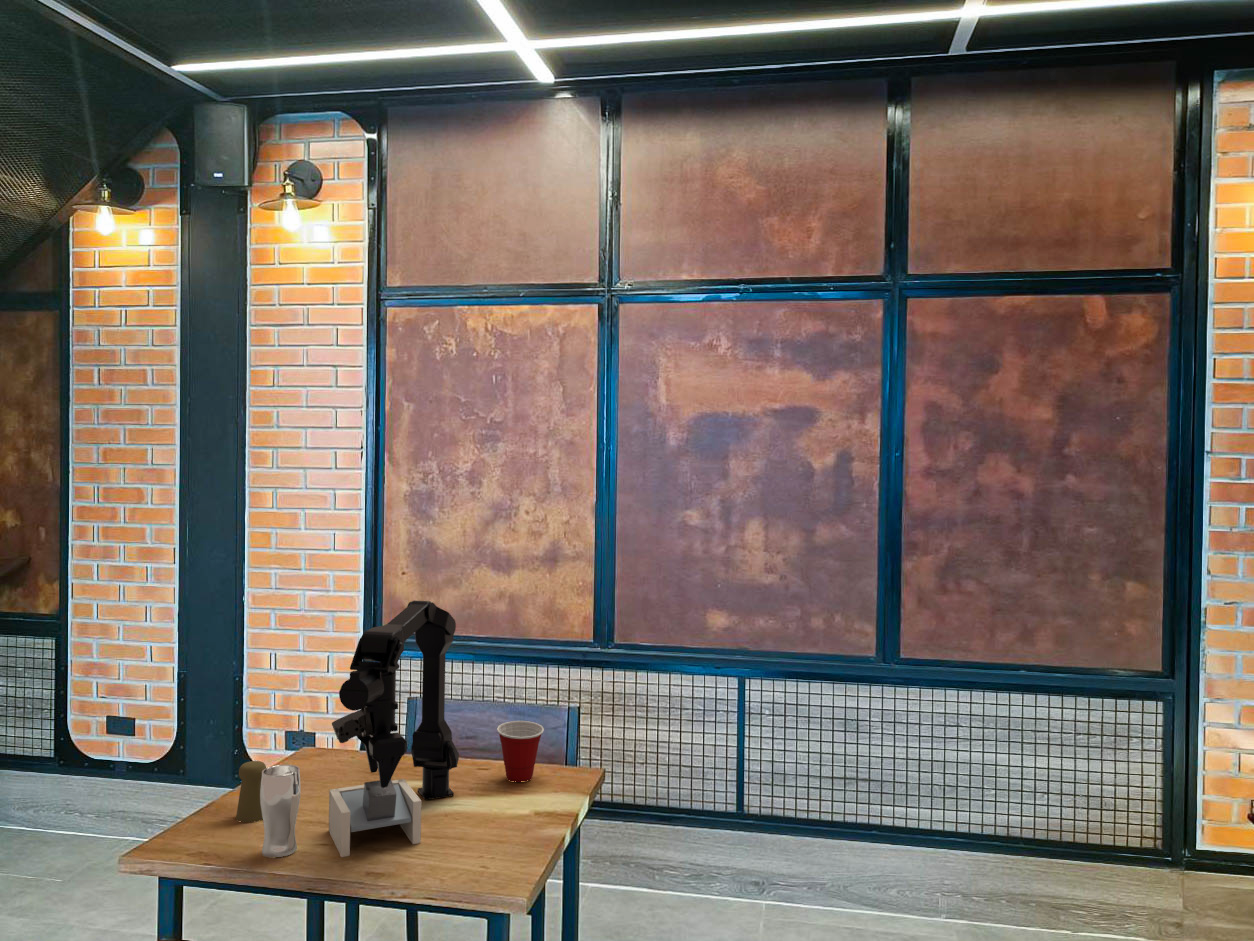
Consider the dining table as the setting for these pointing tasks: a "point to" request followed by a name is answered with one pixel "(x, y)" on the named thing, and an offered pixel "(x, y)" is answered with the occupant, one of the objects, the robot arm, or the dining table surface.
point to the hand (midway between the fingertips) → (378, 779)
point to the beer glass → (280, 809)
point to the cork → (250, 792)
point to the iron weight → (379, 800)
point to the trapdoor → (360, 821)
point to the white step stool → (341, 816)
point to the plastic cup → (519, 748)
